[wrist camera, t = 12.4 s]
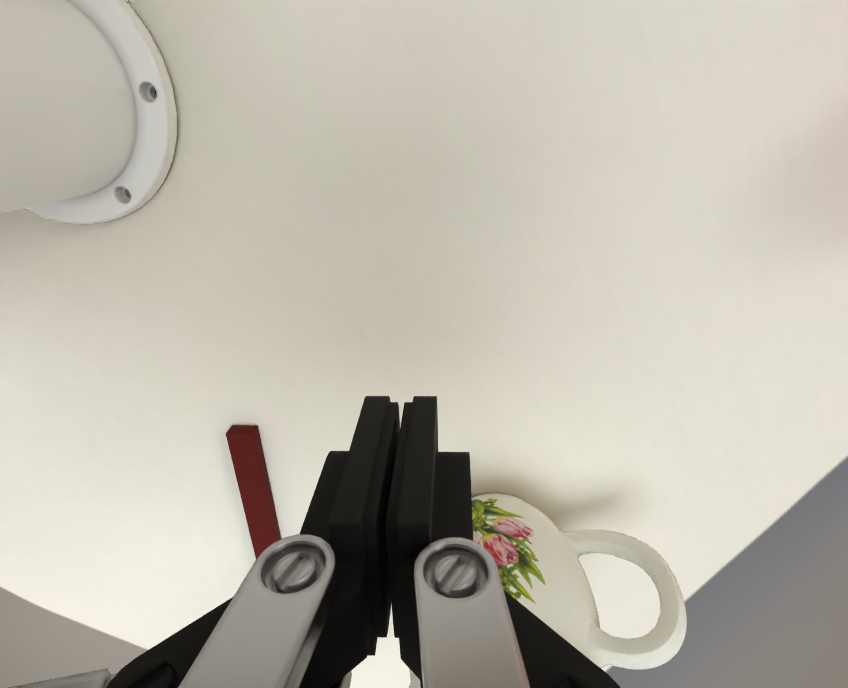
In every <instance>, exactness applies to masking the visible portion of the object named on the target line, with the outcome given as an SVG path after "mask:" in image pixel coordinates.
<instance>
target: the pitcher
mask: <svg viewBox="0 0 848 688" xmlns="http://www.w3.org/2000/svg"><path fill="white" fill-rule="evenodd" d="M472 520H473V541H475V542H476V543H478V544H480V545H482V546H483V547H484V548H485V549H486V550H487V551H488V552H489V553H490V554H491V555H492V557H493V559H494V561H495V563H496V565H497V568H498V572H499V576H500V579H501V583H502V587H503V589H504V590H505V591H506V592H507V593H509V594H510V595H511V596H512V597H514V598H515V599H516V600H517V601H519V602H520V603H521V604H522V605H523V606H525V607H526V608H527V609H528V610H530V611H531V612H532V613H533V614H534V615H536V616H537V617H538V618H539V619H541V620H542V621H543V622H544V623H545V624H547V625H548V626H549V627H550V628H552V629H553V630H554V631H555V632H557V633H558V634H559V635H560V636H561V637H563V638H564V639H565V640H566V641H568V642H569V643H570V644H571V645H572V646H574V647H575V648H576V649H577V650H579V651H580V652H581V653H582V654H584V655H585V656H586V657H587V658H588V659H590V660H591V661H592V662H593V663H595V664H596V665H597V666H598V667H599V668H603V667H604V666H606V665H614V666H618V667H623V668H628V669H649V668H653V667H658V666H660V665H662V664H664V663H666V662H668V661H669V660H670V659H671V658H672V657H673V656H674V655H675V654H676V653H677V652H678V651H679V649H680V647H681V645H682V643H683V642H684V637H685V633H686V629H687V621H686V609H685V605H684V600H683V596H682V593H681V590H680V588H679V585H678V583H677V580H676V578H675V576H674V574H673V573H672V571H671V569H670V568H669V566H668V564H667V563H666V561H665V560H664V559H663V558H662V557H661V556H660V555H659V553H658V552H657V551H656V550H654V549H653V548H651V547H650V546H649V545H647V544H646V543H644V542H642V541H640V540H638V539H636V538H634V537H631V536H628V535H625V534H622V533H618V532H613V531H606V530H581V531H571V532H565V531H560V530H559V529H558V528H557V527H556V526H555V524H554V523H553V522H552V521H551V520H550V519H549V518H548V517H547V516H546V515H545V514H544V513H543V512H541V511H540V510H539V509H537V508H536V507H534V506H532V505H530V504H529V503H527V502H526V501H524V500H522V499H520V498H518V497H515V496H512V495H507V494H500V493H489V494H482V495H478V496H475V497H472ZM589 553H604V554H609V555H614V556H617V557H620V558H623V559H626V560H628V561H631V562H633V563H635V564H637V565H638V566H639V567H641V568H642V569H644V570H645V572H646V573H647V574H648V575H649V576H650V577H651V579H652V580H653V582H654V584H655V585H656V588H657V590H658V593H659V598H660V615H659V618H658V622H657V624H656V625H655V627H654V629H653V630H652V631H651V632H650V633H648V634H646V635H644V636H642V637H639V638H633V639H625V638H618V637H614V636H611V635H609V634H607V633H606V632H604V631H602V630H601V629H600V624H599V618H598V612H597V608H596V604H595V600H594V596H593V594H592V591H591V588H590V585H589V582H588V579H587V576H586V574H585V572H584V570H583V567H582V565H581V563H580V562H579V557H580V555H583V554H589ZM409 669H410V668H409ZM410 679H411V683H410V686H409V688H420V680H419V679H418V678H417V676H416V675H415V674H414V673H413V672H412V671H411V670H410Z"/></svg>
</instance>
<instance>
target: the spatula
mask: <svg viewBox="0 0 848 688" xmlns="http://www.w3.org/2000/svg"><path fill="white" fill-rule="evenodd" d="M226 437H227V441H228V445H229V449H230V453H231V457H232V461H233V465H234V470H235V474H236V478H237V482H238V486H239V490H240V494H241V499H242V503H243V507H244V511H245V515H246V519H247V523H248V527H249V532H250V536H251V540H252V544H253V548H254V552H255V556H256V560H257V558H258V557H259V556H260V555H261V553H262V552H263V551H264V550H265V549H266V548H268V547H269V546H270V545H272V544H273V543H275V542H277V541H279V540H281V536H280V532H279V527H278V522H277V517H276V513H275V508H274V503H273V498H272V493H271V489H270V484H269V479H268V474H267V470H266V465H265V460H264V455H263V450H262V446H261V441H260V436H259V431H258V426H236V425H233V426H231V428H230V429H229V430H228V432H227V433H226Z"/></svg>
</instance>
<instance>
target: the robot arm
mask: <svg viewBox="0 0 848 688" xmlns="http://www.w3.org/2000/svg"><path fill="white" fill-rule="evenodd" d="M155 89H156V91H157V97H156V95H155V93H154V90H155ZM176 140H177V111H176V105H175V99H174V94H173V88H172V84H171V81H170V78H169V75H168V72H167V69H166V66H165V63H164V61H163V58H162V56H161V54H160V52H159V50H158V48H157V46H156V44H155V42H154V40H153V38H152V37H151V35H150V33H149V31H148V30H147V28H146V27H145V25H144V24H143V23H142V21H141V20H140V18H139V17H138V16H137V14H136V13H135V11H134V10H133V9H132V7H131V6H130V5H129V4H128V3H127V2H126V1H125V0H0V214H3V213H7V212H11V211H16V210H20V209H25V210H27V211H29V212H32V213H34V214H36V215H38V216H41V217H43V218H46V219H50V220H54V221H58V222H61V223H68V224H80V225H88V224H96V223H103V222H107V221H111V220H114V219H117V218H120V217H123V216H125V215H127V214H129V213H131V212H133V211H135V210H137V209H139V208H140V207H141V206H143V205H144V204H145V203H146V202H147V201H148V200H149V199H151V198H152V197H153V196H154V195H155V193H156V192H157V190H158V189H159V187H160V186H161V185H162V183H163V182H164V180H165V178H166V176H167V173H168V171H169V168H170V166H171V163H172V161H173V157H174V151H175V145H176ZM391 602H392V613H393V625H394V636H395V638H399V642H400V655H401V659H402V660H403V662H404V663H405V664H406V665H407V666H408V667H409V668H410V670H411V671H412V672H413V673H414V674H415V675H416V676H417V678H418V679H419V680H420V688H620V686H619V685H617V683H616V682H615V681H614V680H613V679H612V678H611V677H610V676H609V675H608V674H607V673H606V672H604V671H603V670H602V669H601V668H599V667H598V666H597V665H596V664H595V663H593V662H592V661H591V660H590V659H588V658H587V657H586V656H585V655H584V654H582V653H581V652H580V651H579V650H577V649H576V648H575V647H574V646H572V645H571V644H570V643H569V642H568V641H566V640H565V639H564V638H563V637H561V636H560V635H559V634H558V633H557V632H555V631H554V630H553V629H552V628H550V627H549V626H548V625H547V624H545V623H544V622H543V621H542V620H541V619H539V618H538V617H537V616H536V615H534V614H533V613H532V612H531V611H530V610H528V609H527V608H526V607H525V606H523V605H522V604H521V603H520V602H519V601H517V600H516V599H515V598H514V597H512V596H511V595H510V594H509V593H507V592H506V591H505V590H504V589H503V587H502V583H501V579H500V576H499V572H498V568H497V565H496V563H495V561H494V559H493V557H492V555H491V554H490V553H489V552H488V551H487V550H486V549H485V548H484V547H483V546H482V545H480V544H478V543H476V542H475V541H473V520H472V498H471V476H470V455H469V452H438V421H437V396H414V398H413V402H405V403H404V409H403V415H402V421H401V428H400V421H399V406H398V402H390V398H389V396H366V397H365V399H364V403H363V406H362V409H361V413H360V416H359V420H358V423H357V426H356V430H355V433H354V436H353V440H352V443H351V447H350V450H349V451H330V452H329V454H328V456H327V458H326V461H325V464H324V466H323V469H322V472H321V475H320V478H319V481H318V483H317V486H316V489H315V492H314V495H313V498H312V500H311V503H310V506H309V509H308V512H307V514H306V517H305V520H304V523H303V526H302V529H301V531H300V534H299V535H294V536H289V537H285V538H283V539H281V540H279V541H277V542H275V543H273V544H272V545H270V546H269V547H268V548H266V549H265V550H264V551H263V552H262V553H261V555H260V556H259V557H258V558H257V560H256V561H255V563H254V564H253V566H252V568H251V569H250V571H249V573H248V574H247V576H246V577H245V579H244V581H243V582H242V584H241V586H240V587H239V589H238V591H237V592H236V594H235V595H234V597H232V598H231V599H229V600H228V601H226V602H224V603H223V604H221V605H220V606H218V607H217V608H215V609H213V610H212V611H210V612H209V613H207V614H205V615H204V616H202V617H201V618H199V619H197V620H196V621H194V622H193V623H191V624H189V625H188V626H186V627H185V628H183V629H181V630H180V631H178V632H177V633H175V634H173V635H172V636H170V637H169V638H167V639H165V640H164V641H162V642H161V643H159V644H157V645H156V646H154V647H153V648H151V649H149V650H148V651H146V652H145V653H143V654H142V655H140V656H138V657H137V658H135V659H134V660H133V661H132V662H130V663H129V664H128V665H126V666H125V667H124V668H123V669H121V670H120V671H119V672H118V673H117V674H111V675H110V672H109V670H108V668H107V669H101V670H96V671H91V672H86V673H81V674H76V675H70V676H65V677H60V678H55V679H50V680H45V681H40V682H35V683H29V684H24V685H19V686H14V687H9V688H349V687H350V682H351V676H352V673H351V670H352V669H353V668H355V667H356V666H357V665H358V664H359V663H361V662H362V661H363V660H364V659H365V658H367V655H375V651H376V644H377V637H387V633H388V626H389V618H390V610H391Z"/></svg>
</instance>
